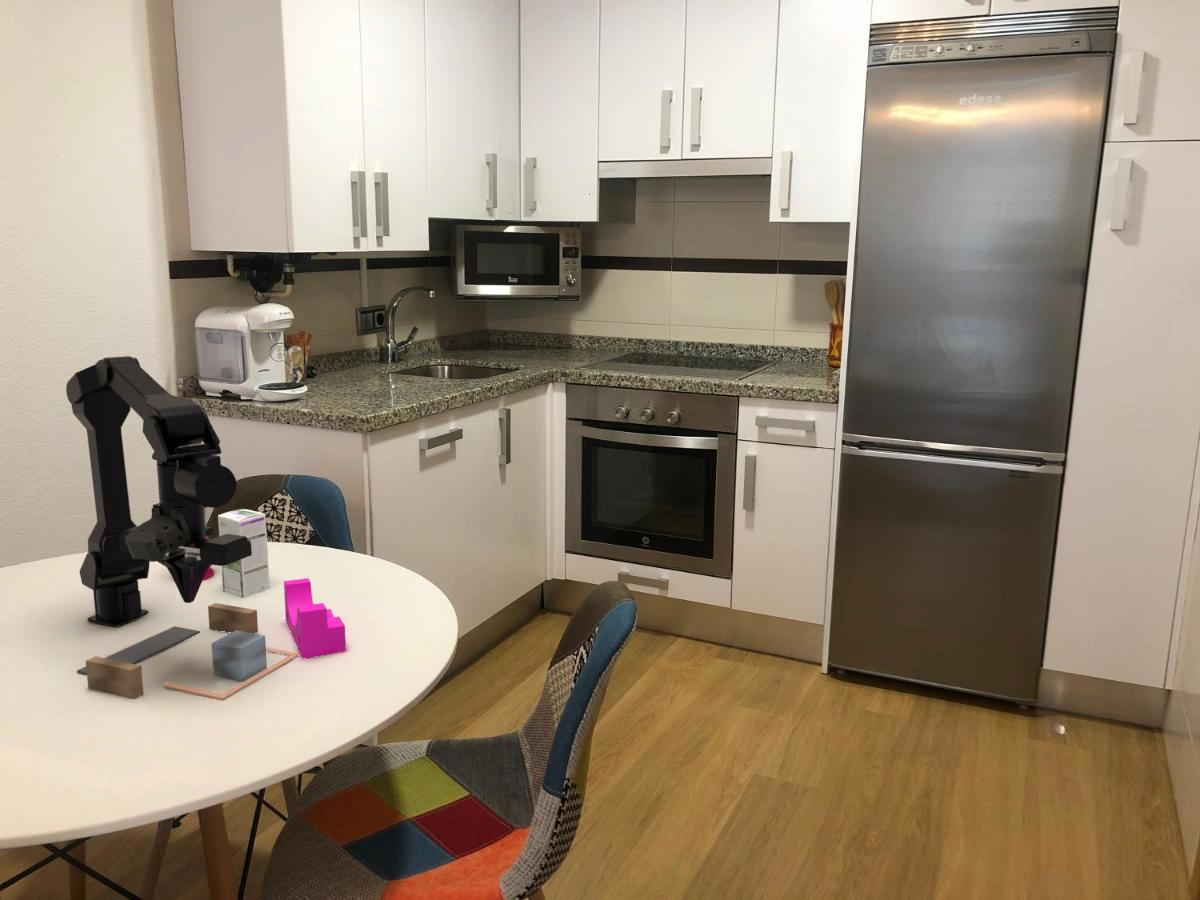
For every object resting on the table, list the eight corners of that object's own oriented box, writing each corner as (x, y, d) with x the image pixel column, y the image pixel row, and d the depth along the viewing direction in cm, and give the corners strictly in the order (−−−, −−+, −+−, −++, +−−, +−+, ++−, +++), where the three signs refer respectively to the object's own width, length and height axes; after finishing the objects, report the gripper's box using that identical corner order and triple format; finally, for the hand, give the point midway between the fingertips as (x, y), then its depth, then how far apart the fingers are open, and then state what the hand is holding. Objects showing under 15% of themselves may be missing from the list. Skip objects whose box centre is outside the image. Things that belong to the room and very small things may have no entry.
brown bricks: (88, 688, 131) (85, 660, 131) (216, 627, 154) (215, 602, 153) (133, 698, 129) (131, 670, 128) (258, 634, 151) (256, 610, 150)
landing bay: (163, 687, 132) (163, 685, 132) (245, 645, 147) (245, 643, 147) (223, 700, 129) (222, 698, 129) (300, 655, 143) (300, 653, 143)
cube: (213, 676, 136) (211, 643, 135) (238, 663, 141) (236, 630, 140) (242, 682, 134) (240, 648, 133) (266, 669, 139) (265, 635, 138)
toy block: (346, 654, 145) (344, 606, 143) (302, 661, 142) (300, 612, 140) (326, 620, 158) (324, 576, 156) (286, 626, 155) (283, 581, 154)
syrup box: (271, 593, 169) (267, 512, 167) (243, 602, 165) (238, 519, 162) (250, 586, 172) (245, 507, 170) (221, 596, 168) (216, 514, 165)
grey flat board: (77, 673, 136) (76, 670, 136) (174, 628, 153) (174, 626, 153) (104, 678, 134) (104, 676, 134) (199, 633, 151) (199, 631, 151)
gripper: (82, 501, 131) (92, 611, 134) (191, 515, 125) (199, 631, 128) (146, 484, 141) (154, 587, 144) (251, 496, 135) (257, 604, 138)
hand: (189, 602), depth 138 cm, fingers closed
